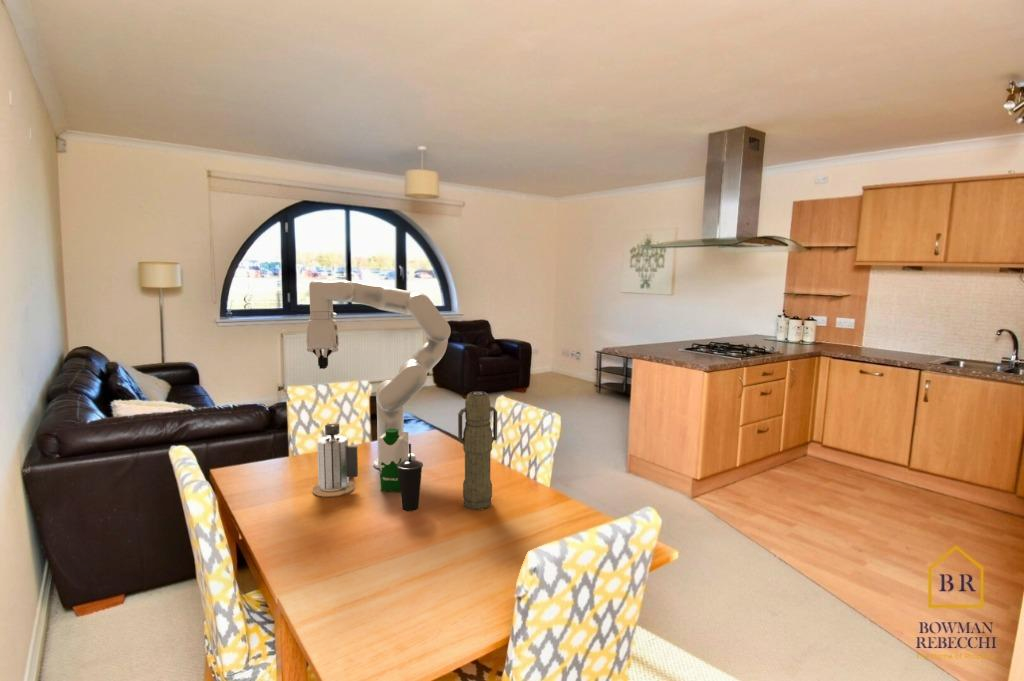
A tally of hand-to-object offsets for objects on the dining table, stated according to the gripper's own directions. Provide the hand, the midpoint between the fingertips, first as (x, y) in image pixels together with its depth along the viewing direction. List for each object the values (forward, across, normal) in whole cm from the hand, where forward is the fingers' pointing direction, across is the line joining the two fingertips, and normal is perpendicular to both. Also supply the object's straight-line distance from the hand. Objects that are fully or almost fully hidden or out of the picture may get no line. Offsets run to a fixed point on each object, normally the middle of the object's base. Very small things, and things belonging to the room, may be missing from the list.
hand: (323, 368), depth 187 cm
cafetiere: (+37, -8, +18) cm, 42 cm away
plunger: (+34, -9, +18) cm, 40 cm away
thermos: (+37, -56, +29) cm, 73 cm away
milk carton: (+37, -28, +16) cm, 49 cm away
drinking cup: (+37, -36, +32) cm, 61 cm away
